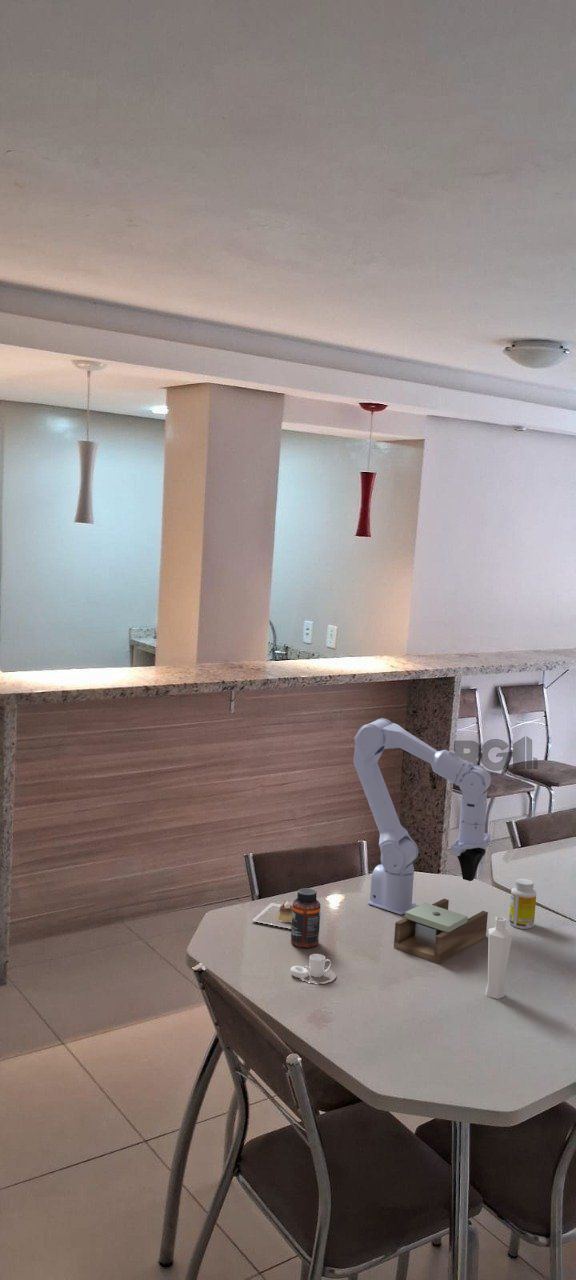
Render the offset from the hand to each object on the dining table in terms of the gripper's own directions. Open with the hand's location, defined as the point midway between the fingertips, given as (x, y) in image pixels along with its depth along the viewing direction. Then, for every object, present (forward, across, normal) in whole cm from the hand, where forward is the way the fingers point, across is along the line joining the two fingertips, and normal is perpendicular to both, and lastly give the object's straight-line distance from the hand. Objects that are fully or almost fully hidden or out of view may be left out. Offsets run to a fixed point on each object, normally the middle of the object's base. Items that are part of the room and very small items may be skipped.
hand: (468, 879), depth 226 cm
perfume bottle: (+10, -28, -22) cm, 37 cm away
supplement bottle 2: (+10, +8, -10) cm, 16 cm away
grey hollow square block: (+9, -18, -2) cm, 20 cm away
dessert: (+11, -29, +29) cm, 42 cm away
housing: (+10, -14, -2) cm, 17 cm away
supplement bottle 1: (+10, -36, +18) cm, 42 cm away
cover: (+4, -17, -2) cm, 17 cm away
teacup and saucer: (+11, -46, +10) cm, 48 cm away
